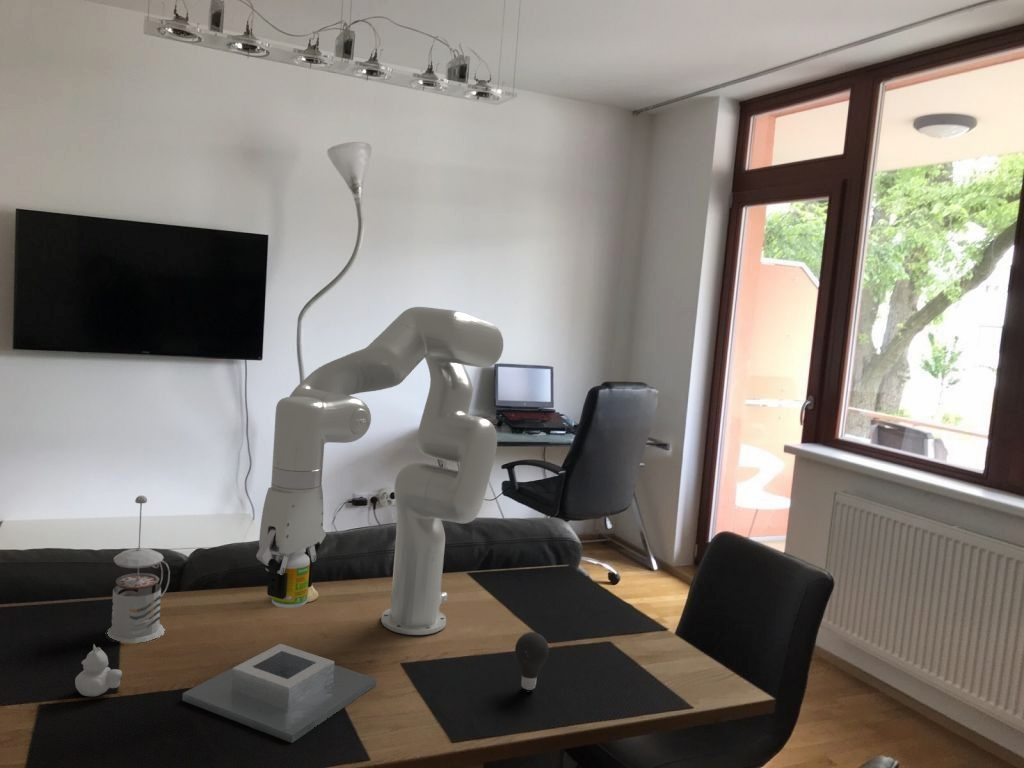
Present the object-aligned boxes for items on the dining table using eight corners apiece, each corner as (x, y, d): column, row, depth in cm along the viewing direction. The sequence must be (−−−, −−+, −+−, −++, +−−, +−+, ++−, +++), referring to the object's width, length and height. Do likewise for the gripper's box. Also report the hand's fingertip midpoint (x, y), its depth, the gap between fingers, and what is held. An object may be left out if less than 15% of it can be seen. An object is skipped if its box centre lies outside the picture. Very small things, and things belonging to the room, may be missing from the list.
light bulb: (510, 681, 145) (515, 625, 144) (542, 683, 145) (548, 627, 144) (512, 697, 139) (518, 639, 138) (546, 699, 140) (552, 641, 139)
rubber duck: (82, 684, 131) (84, 635, 130) (127, 686, 132) (129, 637, 131) (68, 702, 125) (70, 650, 125) (114, 703, 126) (116, 652, 125)
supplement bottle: (297, 611, 129) (301, 549, 128) (265, 605, 130) (268, 544, 129) (312, 599, 134) (316, 539, 133) (281, 593, 135) (285, 534, 134)
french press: (91, 635, 148) (97, 496, 145) (143, 614, 158) (149, 483, 155) (134, 649, 144) (140, 506, 141) (184, 626, 155) (191, 493, 152)
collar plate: (275, 651, 148) (277, 626, 147) (375, 685, 139) (378, 658, 139) (182, 700, 129) (183, 671, 128) (291, 742, 120) (293, 711, 120)
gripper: (312, 464, 139) (305, 570, 141) (238, 482, 124) (231, 601, 126) (350, 472, 136) (342, 581, 138) (278, 492, 121) (271, 614, 123)
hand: (289, 589), depth 132 cm, fingers closed on supplement bottle, 5 cm apart
